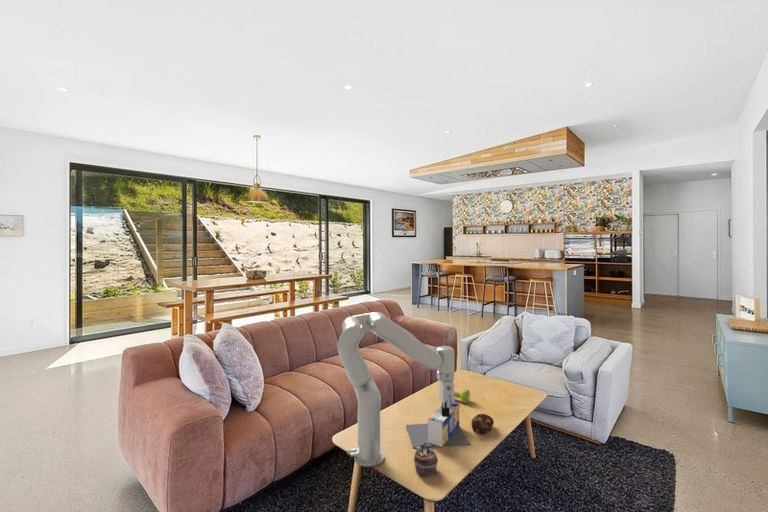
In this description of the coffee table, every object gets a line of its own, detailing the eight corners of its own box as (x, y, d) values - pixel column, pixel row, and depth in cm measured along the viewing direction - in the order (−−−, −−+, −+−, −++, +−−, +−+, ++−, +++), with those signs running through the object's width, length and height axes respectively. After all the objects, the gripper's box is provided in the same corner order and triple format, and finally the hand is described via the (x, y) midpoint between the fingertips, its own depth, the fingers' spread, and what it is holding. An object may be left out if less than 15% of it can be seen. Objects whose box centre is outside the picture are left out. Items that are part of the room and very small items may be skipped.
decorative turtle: (465, 433, 179) (465, 416, 179) (480, 424, 190) (480, 408, 190) (484, 440, 172) (484, 422, 172) (498, 429, 183) (498, 413, 183)
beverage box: (427, 419, 169) (446, 400, 188) (427, 442, 170) (446, 422, 188) (442, 423, 166) (459, 403, 184) (442, 447, 166) (459, 425, 185)
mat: (413, 448, 166) (413, 447, 166) (405, 426, 186) (405, 424, 186) (470, 444, 169) (470, 443, 169) (456, 422, 189) (456, 421, 189)
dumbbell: (471, 400, 215) (471, 388, 214) (466, 406, 208) (467, 393, 208) (443, 394, 223) (443, 382, 223) (439, 399, 216) (439, 387, 216)
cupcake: (408, 470, 151) (408, 446, 150) (424, 460, 157) (424, 437, 157) (427, 481, 144) (427, 456, 143) (442, 470, 150) (442, 446, 150)
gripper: (459, 381, 157) (459, 423, 158) (449, 368, 172) (449, 407, 173) (441, 382, 156) (441, 424, 157) (433, 369, 171) (433, 408, 172)
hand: (445, 415), depth 165 cm, fingers closed
